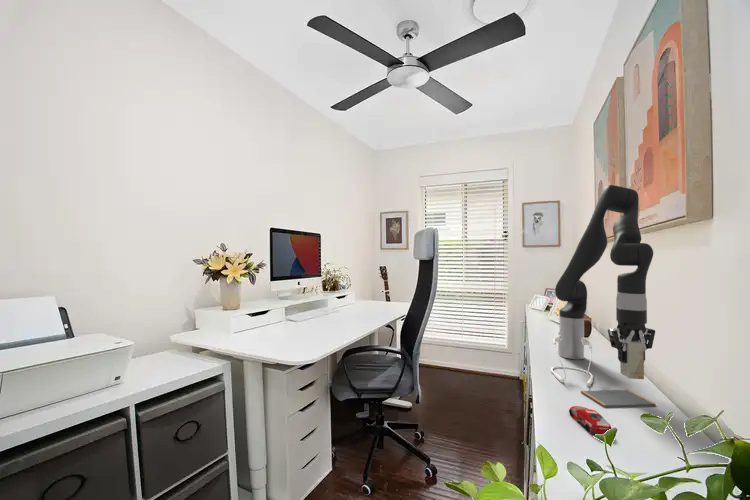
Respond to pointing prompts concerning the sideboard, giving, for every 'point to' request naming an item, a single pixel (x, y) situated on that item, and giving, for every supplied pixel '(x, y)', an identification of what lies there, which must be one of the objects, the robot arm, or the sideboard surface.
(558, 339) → the earphone
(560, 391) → the sideboard surface
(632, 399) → the mat
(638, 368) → the box
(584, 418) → the race car
